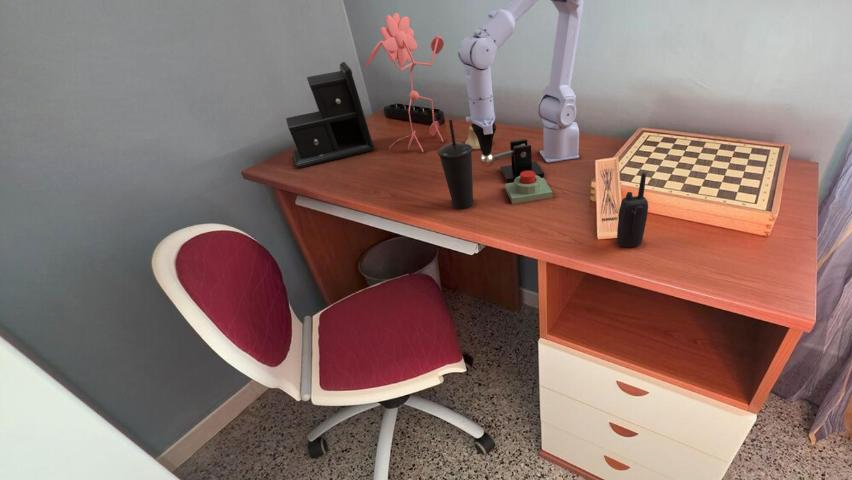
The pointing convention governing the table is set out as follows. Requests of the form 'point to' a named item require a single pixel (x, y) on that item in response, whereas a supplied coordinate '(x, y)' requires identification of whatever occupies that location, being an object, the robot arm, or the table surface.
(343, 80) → the black drawer organizer
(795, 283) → the table surface
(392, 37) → the figurine
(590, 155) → the table surface
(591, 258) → the table surface
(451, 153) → the drinking cup
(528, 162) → the black lever mount
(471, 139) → the hand bell
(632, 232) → the two-way radio
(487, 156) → the tap lever
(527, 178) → the button
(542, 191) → the button box
